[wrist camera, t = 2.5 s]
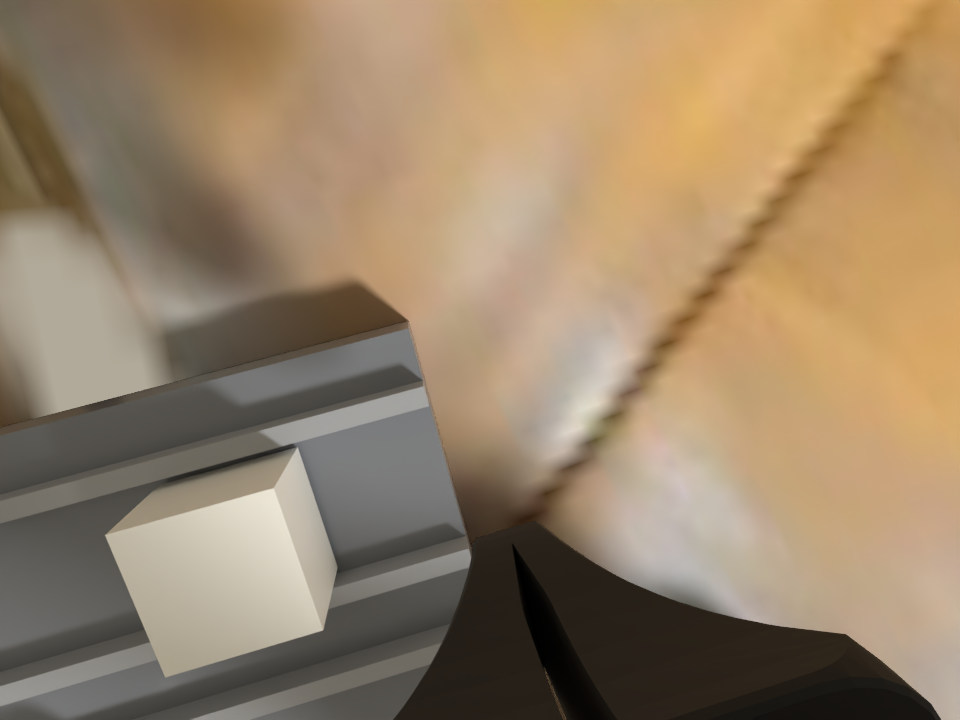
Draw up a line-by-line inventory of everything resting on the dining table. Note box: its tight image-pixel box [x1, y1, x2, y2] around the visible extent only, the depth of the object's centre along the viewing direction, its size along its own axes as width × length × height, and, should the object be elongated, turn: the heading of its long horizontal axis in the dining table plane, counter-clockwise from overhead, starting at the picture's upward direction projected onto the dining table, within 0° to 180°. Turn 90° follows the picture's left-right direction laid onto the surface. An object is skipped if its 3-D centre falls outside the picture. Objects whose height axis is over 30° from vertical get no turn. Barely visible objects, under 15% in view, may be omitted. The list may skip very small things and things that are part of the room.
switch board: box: [0, 321, 472, 720], centre depth 18 cm, size 20×17×3 cm
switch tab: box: [105, 447, 338, 678], centre depth 15 cm, size 4×4×3 cm
